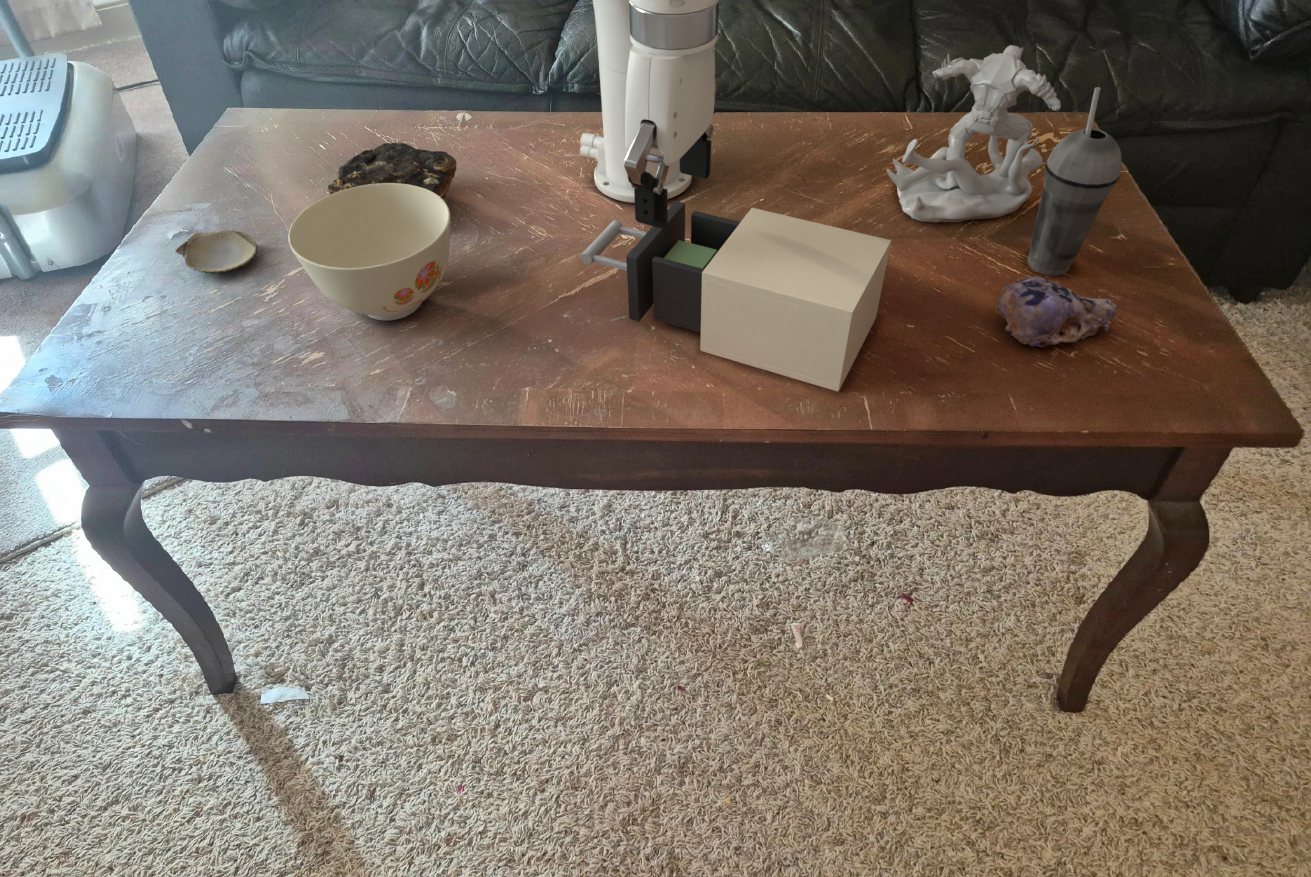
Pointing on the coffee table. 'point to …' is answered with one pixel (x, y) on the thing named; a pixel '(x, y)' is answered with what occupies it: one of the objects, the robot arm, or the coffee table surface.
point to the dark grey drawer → (664, 265)
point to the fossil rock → (398, 169)
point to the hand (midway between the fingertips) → (673, 198)
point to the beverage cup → (1073, 195)
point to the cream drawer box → (792, 297)
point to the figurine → (1008, 182)
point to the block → (691, 254)
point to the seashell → (218, 251)
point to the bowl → (375, 247)
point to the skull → (1051, 312)
